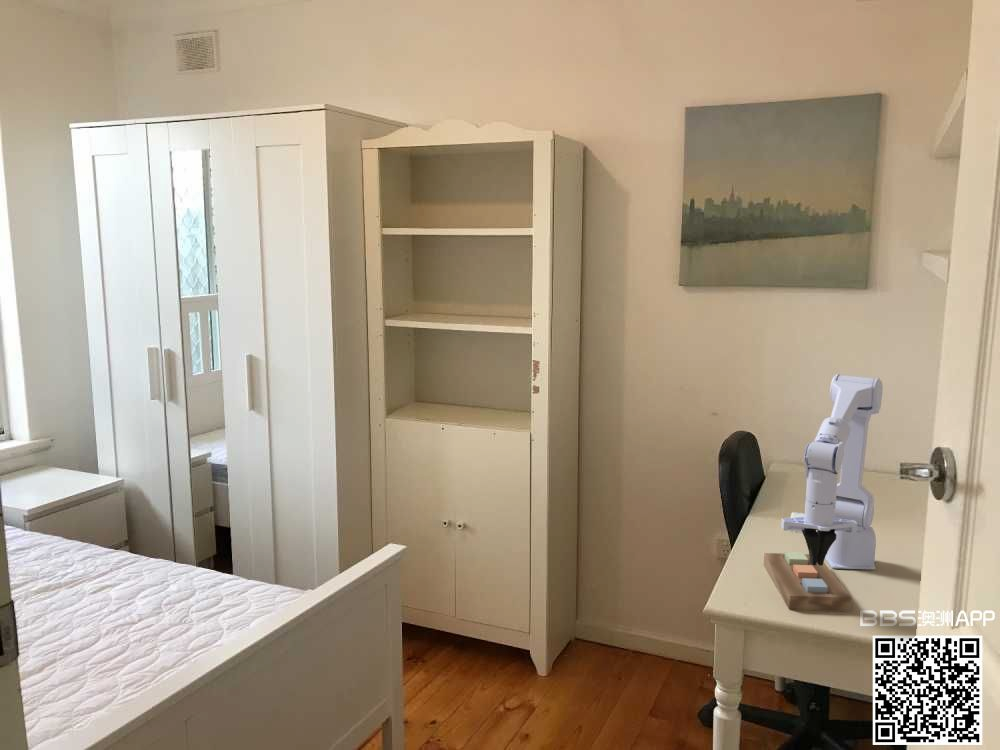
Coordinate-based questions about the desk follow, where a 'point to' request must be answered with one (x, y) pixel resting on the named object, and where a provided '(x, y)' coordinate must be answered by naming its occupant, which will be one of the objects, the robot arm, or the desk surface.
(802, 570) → the terracotta button
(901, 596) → the desk surface
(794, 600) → the button panel
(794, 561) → the sage button
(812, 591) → the slate button
